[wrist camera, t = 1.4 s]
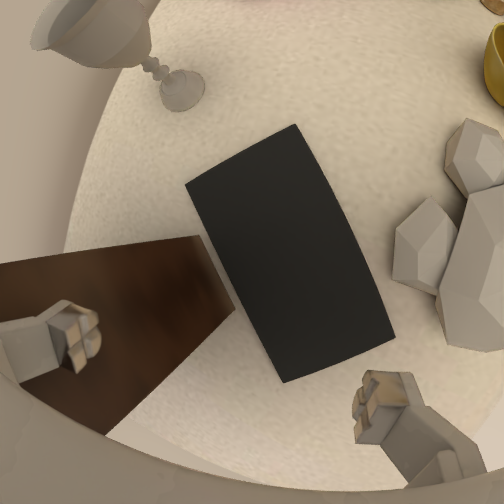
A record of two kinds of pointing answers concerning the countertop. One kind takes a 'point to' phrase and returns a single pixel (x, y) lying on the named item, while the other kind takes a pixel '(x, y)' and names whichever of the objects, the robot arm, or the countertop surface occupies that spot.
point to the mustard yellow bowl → (495, 63)
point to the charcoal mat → (291, 255)
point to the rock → (462, 243)
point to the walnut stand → (120, 319)
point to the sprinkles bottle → (494, 6)
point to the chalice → (112, 43)
